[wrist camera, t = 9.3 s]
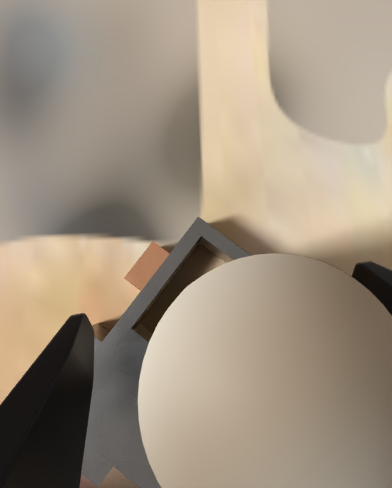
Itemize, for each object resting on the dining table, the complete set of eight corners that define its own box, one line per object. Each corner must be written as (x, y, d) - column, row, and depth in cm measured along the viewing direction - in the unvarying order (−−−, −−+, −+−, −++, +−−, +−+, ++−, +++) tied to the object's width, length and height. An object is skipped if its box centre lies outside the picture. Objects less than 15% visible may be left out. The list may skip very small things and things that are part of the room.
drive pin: (255, 299, 18) (463, 336, 5) (223, 362, 18) (352, 623, 4) (195, 265, 19) (223, 206, 5) (162, 327, 18) (81, 461, 4)
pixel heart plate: (385, 342, 18) (416, 351, 16) (247, 569, 16) (258, 620, 14) (193, 201, 19) (194, 188, 17) (39, 398, 17) (14, 417, 15)
